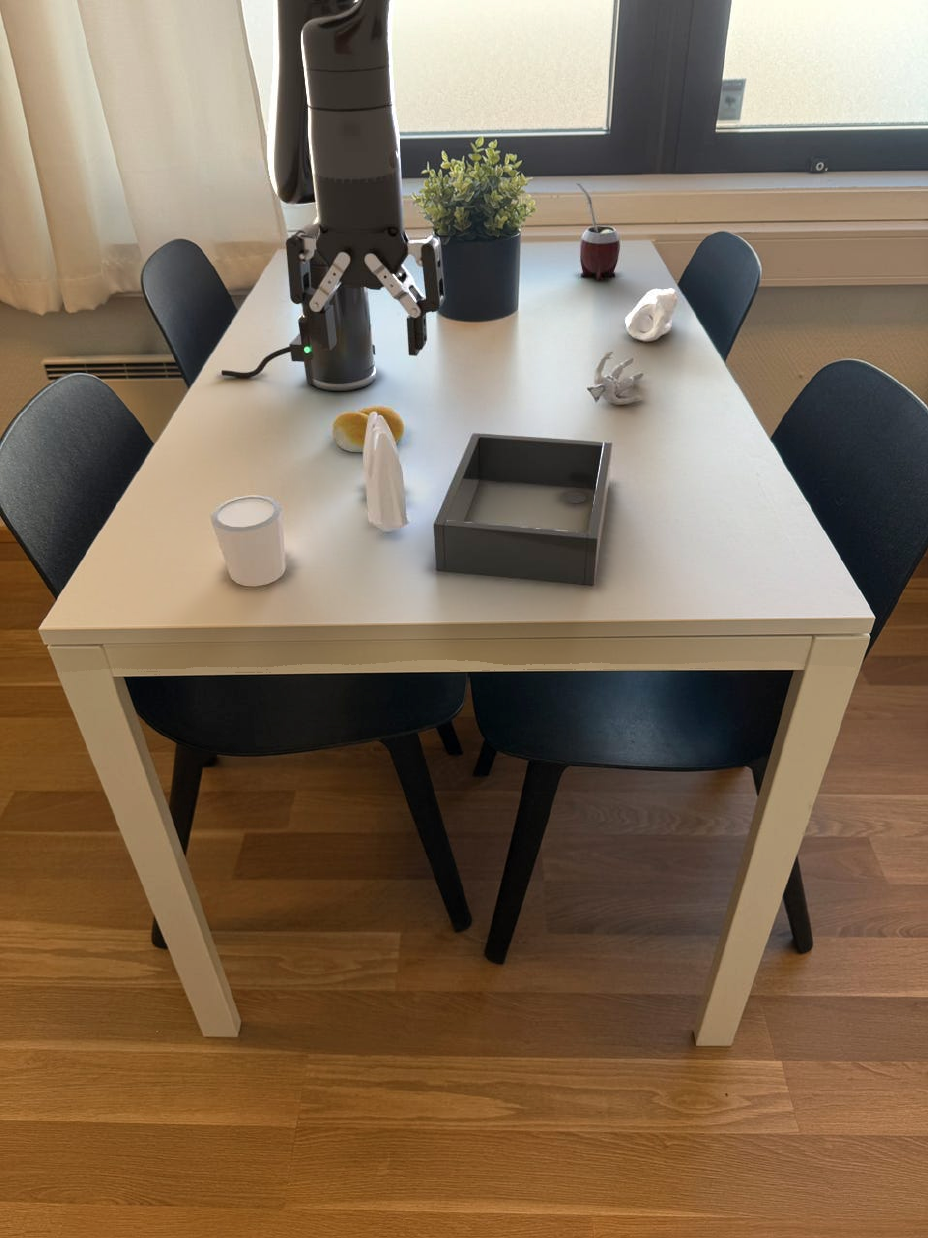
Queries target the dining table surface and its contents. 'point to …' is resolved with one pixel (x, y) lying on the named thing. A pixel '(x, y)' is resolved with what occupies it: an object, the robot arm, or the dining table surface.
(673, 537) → the dining table surface
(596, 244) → the mate gourd
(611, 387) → the soldier figure
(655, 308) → the white irregular lump
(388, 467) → the shaker set
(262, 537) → the white cylinder
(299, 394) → the dining table surface
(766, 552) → the dining table surface
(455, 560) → the grey open box
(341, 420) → the bread roll
